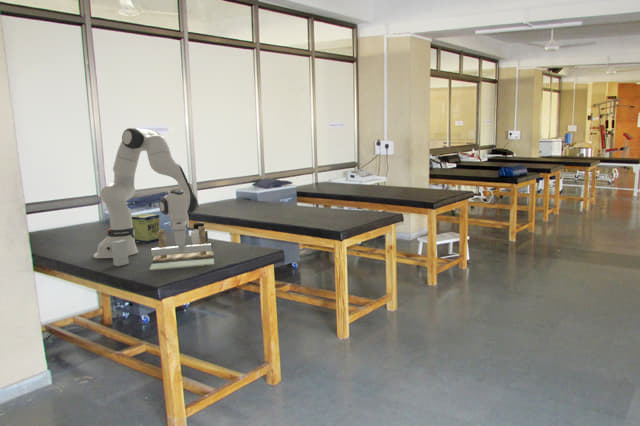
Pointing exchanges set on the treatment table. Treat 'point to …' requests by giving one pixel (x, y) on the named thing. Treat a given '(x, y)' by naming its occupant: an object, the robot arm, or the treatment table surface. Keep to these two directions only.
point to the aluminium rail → (186, 249)
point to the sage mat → (182, 264)
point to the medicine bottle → (197, 233)
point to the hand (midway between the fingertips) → (181, 251)
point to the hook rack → (187, 255)
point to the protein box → (146, 227)
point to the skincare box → (120, 252)
